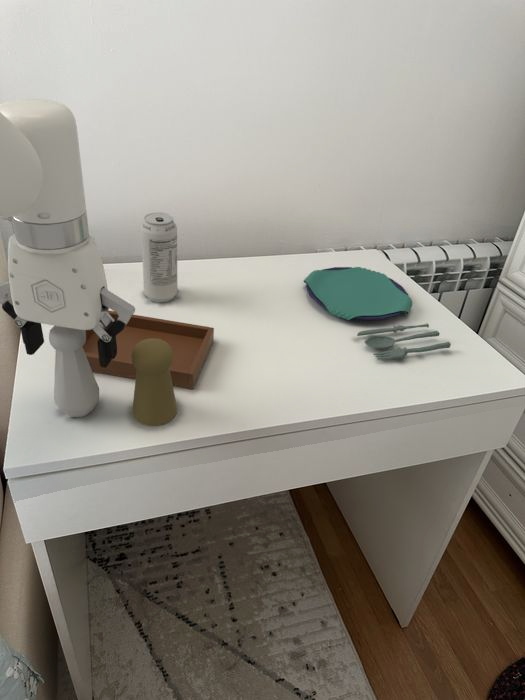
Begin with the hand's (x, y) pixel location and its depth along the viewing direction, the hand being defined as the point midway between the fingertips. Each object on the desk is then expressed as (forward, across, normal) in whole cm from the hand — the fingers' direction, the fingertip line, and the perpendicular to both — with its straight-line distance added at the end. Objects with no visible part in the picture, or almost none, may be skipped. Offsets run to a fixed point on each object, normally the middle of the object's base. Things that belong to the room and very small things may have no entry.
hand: (71, 354), depth 67 cm
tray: (+9, +4, +14) cm, 17 cm away
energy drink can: (+9, +1, +32) cm, 33 cm away
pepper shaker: (+9, +10, +2) cm, 14 cm away
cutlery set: (+9, +39, +38) cm, 55 cm away
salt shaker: (+9, 0, 0) cm, 9 cm away
